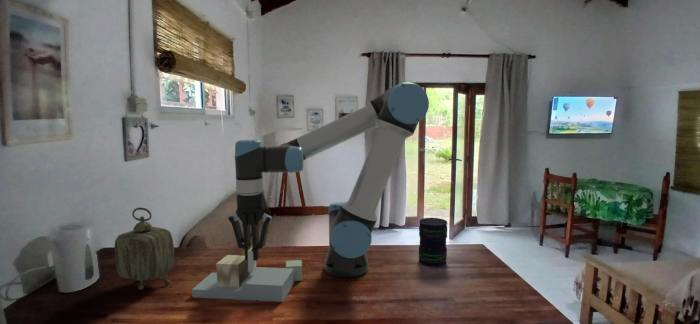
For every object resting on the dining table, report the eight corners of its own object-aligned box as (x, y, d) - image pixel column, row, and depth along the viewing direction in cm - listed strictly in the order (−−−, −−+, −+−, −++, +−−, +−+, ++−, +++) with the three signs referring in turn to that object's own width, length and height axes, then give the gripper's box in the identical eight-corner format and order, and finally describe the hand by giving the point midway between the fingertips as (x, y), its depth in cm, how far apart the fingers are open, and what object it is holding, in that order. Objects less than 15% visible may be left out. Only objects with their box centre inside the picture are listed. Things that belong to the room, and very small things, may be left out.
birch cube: (248, 255, 114) (227, 254, 115) (238, 264, 107) (216, 263, 108) (249, 277, 115) (228, 276, 116) (239, 287, 108) (217, 286, 109)
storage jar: (450, 260, 134) (451, 219, 132) (441, 269, 126) (442, 226, 124) (424, 254, 139) (424, 216, 138) (414, 263, 131) (414, 222, 129)
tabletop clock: (176, 283, 117) (171, 205, 114) (154, 296, 108) (148, 213, 105) (139, 278, 121) (133, 203, 118) (114, 290, 112) (108, 210, 109)
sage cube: (301, 274, 123) (301, 259, 122) (302, 280, 118) (301, 265, 118) (286, 275, 122) (286, 260, 122) (286, 281, 117) (285, 266, 117)
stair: (294, 283, 116) (293, 268, 116) (282, 301, 104) (282, 285, 104) (212, 279, 119) (211, 265, 119) (192, 297, 107) (191, 281, 107)
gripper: (275, 190, 111) (277, 266, 114) (233, 190, 112) (236, 264, 115) (267, 195, 104) (269, 276, 106) (222, 195, 105) (226, 274, 108)
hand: (252, 270), depth 111 cm, fingers closed
